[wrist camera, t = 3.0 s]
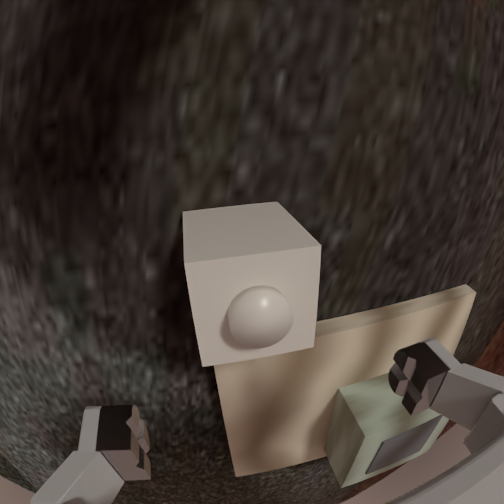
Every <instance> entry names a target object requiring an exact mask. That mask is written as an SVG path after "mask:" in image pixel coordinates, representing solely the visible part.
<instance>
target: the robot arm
mask: <svg viewBox="0 0 504 504" xmlns="http://www.w3.org/2000/svg"><path fill="white" fill-rule="evenodd" d="M393 360H394V361H395V363H394V365H393V366H392V367H391V368H390V371H389V374H388V379H389V384H390V387H391V389H392V390H393V392H394V393H395V394H397V395H399V396H401V397H402V400H401V403H402V404H403V406H404V407H405V408H406V410H407V411H408V413H409V414H410V415H411V416H412V415H414V414H416V413H419V412H421V411H423V410H425V409H428V408H430V409H432V410H433V411H435V412H437V413H439V414H441V415H443V416H444V417H446V418H448V419H450V420H452V421H454V422H456V423H458V424H459V425H461V426H463V427H465V428H467V429H469V430H471V431H470V432H469V434H468V435H467V436H466V438H465V439H464V444H465V445H466V447H467V448H468V449H469V451H470V452H471V455H469V456H468V457H466V458H465V459H463V460H462V461H460V462H459V463H458V464H456V465H454V466H453V467H451V468H450V469H448V470H446V471H445V472H443V473H441V474H440V475H438V476H436V477H435V478H433V479H431V480H429V481H428V482H426V483H424V484H422V485H420V486H418V487H417V488H415V489H413V490H411V491H409V492H407V493H405V494H403V495H401V496H399V497H397V498H395V499H393V500H391V501H389V502H386V503H384V504H504V377H502V376H499V375H497V374H494V373H491V372H488V371H485V370H482V369H479V368H476V367H473V366H471V365H468V364H465V363H463V364H460V363H459V362H458V361H457V360H456V359H455V358H454V357H453V356H452V354H451V353H450V352H449V351H448V350H447V349H446V348H445V347H444V346H443V345H442V344H441V343H440V342H439V341H438V340H437V339H435V338H430V339H427V340H424V341H422V342H418V343H416V344H413V345H410V346H408V347H405V348H402V349H400V350H397V352H396V353H395V354H394V358H393ZM149 449H150V443H149V436H148V431H147V428H146V425H145V423H144V421H143V420H141V419H140V418H139V410H138V408H137V407H136V405H116V406H87V407H86V408H85V410H84V414H83V420H82V426H81V432H80V439H79V446H78V451H73V452H72V453H71V454H70V455H69V456H68V458H67V459H66V460H65V461H64V462H63V463H62V464H61V465H60V467H59V468H58V469H57V470H56V471H55V472H54V473H53V474H52V476H51V477H50V478H49V479H48V480H47V481H46V482H45V483H44V485H43V486H42V487H41V488H40V489H39V490H38V491H37V493H36V494H35V495H34V496H33V497H32V498H31V501H30V504H112V502H113V501H114V499H115V497H116V496H117V494H118V492H119V491H120V489H121V487H122V486H123V484H124V481H128V480H148V479H151V468H150V460H149V458H148V457H147V455H146V453H147V452H148V451H149Z"/></svg>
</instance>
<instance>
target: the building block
mask: <svg viewBox="0 0 504 504" xmlns="http://www.w3.org/2000/svg"><path fill="white" fill-rule="evenodd" d="M183 246H184V266H185V272H186V279H187V285H188V291H189V297H190V303H191V309H192V314H193V320H194V326H195V331H196V336H197V342H198V347H199V352H200V357H201V362H202V367H205V366H212V365H219V364H226V363H232V362H239V361H245V360H251V359H256V358H262V357H267V356H273V355H278V354H283V353H288V352H293V351H298V350H303V349H307V348H312V347H314V339H315V328H316V317H317V304H318V291H319V276H320V260H321V245H320V244H319V243H318V242H317V241H316V240H315V239H314V238H313V237H312V236H311V235H310V234H309V233H308V232H307V231H306V230H305V229H304V228H303V227H302V226H301V225H300V224H299V223H298V222H297V221H296V220H295V219H294V218H293V217H292V216H291V215H290V214H289V213H288V212H287V211H286V210H285V209H284V208H283V207H282V206H281V205H280V204H279V203H278V202H268V203H258V204H248V205H238V206H229V207H220V208H211V209H203V210H194V211H186V212H183Z"/></svg>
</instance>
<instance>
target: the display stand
mask: <svg viewBox="0 0 504 504" xmlns="http://www.w3.org/2000/svg"><path fill="white" fill-rule="evenodd" d="M475 295H476V292H475V291H474V290H473V289H471V288H470V287H469V286H467V285H466V284H465V285H461V286H458V287H455V288H451V289H448V290H445V291H441V292H438V293H434V294H430V295H427V296H423V297H419V298H416V299H412V300H408V301H404V302H401V303H397V304H393V305H389V306H385V307H381V308H376V309H372V310H368V311H364V312H359V313H355V314H351V315H346V316H341V317H337V318H332V319H327V320H323V321H318V322H316V328H315V339H314V347H312V348H307V349H303V350H298V351H293V352H288V353H283V354H278V355H273V356H267V357H262V358H256V359H251V360H245V361H239V362H232V363H226V364H219V365H214V369H215V375H216V381H217V386H218V392H219V397H220V402H221V408H222V413H223V418H224V423H225V428H226V433H227V438H228V443H229V448H230V453H231V457H232V462H233V466H234V471H235V475H236V477H239V476H244V475H250V474H256V473H261V472H266V471H270V470H275V469H280V468H284V467H288V466H292V465H296V464H300V463H304V462H308V461H311V460H315V459H319V458H322V457H325V456H327V458H328V460H329V462H330V465H331V467H332V469H333V471H334V474H335V476H336V478H337V481H338V483H339V485H340V487H341V488H343V487H346V486H349V485H352V484H355V483H357V482H360V481H363V480H365V479H368V478H370V477H373V476H375V475H378V474H380V473H383V472H385V471H387V470H390V469H392V468H394V467H396V466H399V465H401V464H403V463H405V462H407V461H409V460H411V459H413V458H415V457H417V456H420V455H421V454H423V453H425V452H427V451H428V450H429V449H430V447H431V446H432V445H433V443H434V442H435V440H436V439H437V437H438V436H439V434H440V433H441V431H442V430H443V428H444V427H445V425H446V424H447V422H448V421H449V419H448V418H446V417H444V416H443V415H441V414H439V413H437V412H435V411H433V410H432V409H430V408H428V409H425V410H423V411H421V412H419V413H416V414H414V415H412V416H411V415H410V414H409V413H408V411H407V410H406V408H405V407H404V406H403V404H402V403H401V400H402V397H401V396H399V395H397V394H395V393H394V392H393V390H392V389H391V387H390V384H389V379H388V374H389V371H390V368H391V367H392V366H393V365H394V363H395V361H394V360H393V358H394V354H395V353H396V352H397V350H400V349H402V348H405V347H408V346H410V345H413V344H416V343H418V342H422V341H424V340H427V339H430V338H435V339H437V340H438V341H439V342H440V343H441V344H442V345H443V346H444V347H445V348H446V349H447V350H448V351H449V352H450V353H451V354H452V356H453V355H454V352H455V350H456V347H457V345H458V342H459V340H460V337H461V335H462V332H463V330H464V327H465V324H466V322H467V319H468V316H469V313H470V310H471V307H472V304H473V301H474V298H475Z"/></svg>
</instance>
